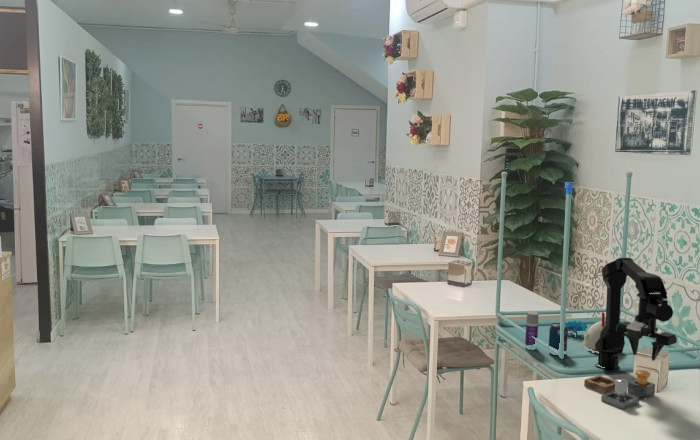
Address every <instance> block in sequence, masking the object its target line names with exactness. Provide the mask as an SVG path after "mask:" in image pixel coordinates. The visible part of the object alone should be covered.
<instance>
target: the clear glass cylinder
mask: <svg viewBox="0 0 700 440" xmlns="http://www.w3.org/2000/svg"><path fill="white" fill-rule="evenodd" d="M628 385H629V381H628V380H627V379H624V378H619V377H618V378H616V379H615V392H614V399H616V400H619V401H621V402H625V401H626V399H627V393H628Z"/></svg>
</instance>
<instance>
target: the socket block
mask: <svg viewBox="0 0 700 440" xmlns="http://www.w3.org/2000/svg"><path fill="white" fill-rule="evenodd" d="M655 391H656V384H655V383H653V382H650V381H647V385H646V386H642V385H639V384H637V378H636V379H634V380H631V381H628V386H627V399H626V401H625V402H621V401H619V400H616V399H614V392H615V391H612V392H610V393H607V394H604V393H603V394H602V395H601V396H600V397H601V398H600V400H601V402H604V403H606V404H609V405H611V406H614V407H616V408H619V409H621V410H626V409H628V408H631V407H634V406H637V405H640V399H642V400H646V399H648V398H651V397H654V396H655Z"/></svg>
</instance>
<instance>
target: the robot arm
mask: <svg viewBox="0 0 700 440" xmlns="http://www.w3.org/2000/svg"><path fill="white" fill-rule="evenodd" d="M601 275H602V280H603V283H604V284H605V286H606V301H605V303H606V304H605V306H606V308H605V322H606V325H605V327H604V328H603V330H602V331H601V334H600V338H599V340H598V341H597V342H596V343H595V350H597V351H598V352H599V354H598V357H597V363H596V364H595V365H598V364H599V365H600V366H602V367H605V369H604V370H605V371H608V372H610V371H615V370H618V369H620V367H621V366H619V364H620V363H619V360H620V358H619V357H620V356H619V354H623V351H624V348H625V345H626V341H625V337H626V338H627V339H628V342H629V343H630V348H631V351H632V354H633V355H634V356H636V355H637V353H638V350H639V349H638V348H639V342H640V339H643V337H649V338H653V339H655V340H654V341H652V342H651V346H652V352H651V361H652V362H654V361H655V360H656V359H657V357H658V355H660V354H659V353H660V352H661V351H662V349H663V348H664V346H670V345H674V344H677V342H678V341H677V340H678V337H677V336H676V334H673V333H671V332H668V331H667V332H666V331H663V332H661V333H658V331H659V328H658V327H657V321H660V322H668V321H669V320H670V319H672V317H673V315H674V311H673V308H672V306H671V305H669V304H668V303H669V302H668V292H667V290H666V287H665V283H664V281H663V279H662V278H661V276H659V275H657V274H655V273H650V272H647V271H646V270H644V268H642V267H641V266H640V265H639V264H637V263H636V262H635V261H634V260H633V258H631V257H618V258H616V259H615V260H613V261H611V262H608V263H606V264H605V265H604V266H603V267H602V269H601ZM628 277H629V278H630V279H631V280H632V281H633V282H634V283H635V285H634V286H635V288H636V290H637V291H638V293H636V296H637V298H639V302H638V312H637V314H635V317H634V321H632V322H631V321H623V322H620V321H621V320H620V319H621V302H622V301H621V300H622V299H621V296H622V289H623V287H624V286H625V284H626V283H627V278H628Z"/></svg>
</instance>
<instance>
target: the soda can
mask: <svg viewBox="0 0 700 440" xmlns="http://www.w3.org/2000/svg"><path fill="white" fill-rule="evenodd" d="M560 323H561V322H553V323H551V325H550V326H549V333H548V334H549V337H548V347H549V346H551V347H553V348H555V349H557V350H558V349H559V343H560ZM568 334H569V332H568V329H567V327H566V325H565V329H564V351H566V350H567V349H568V337H569V336H568ZM567 351H568V350H567Z"/></svg>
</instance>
